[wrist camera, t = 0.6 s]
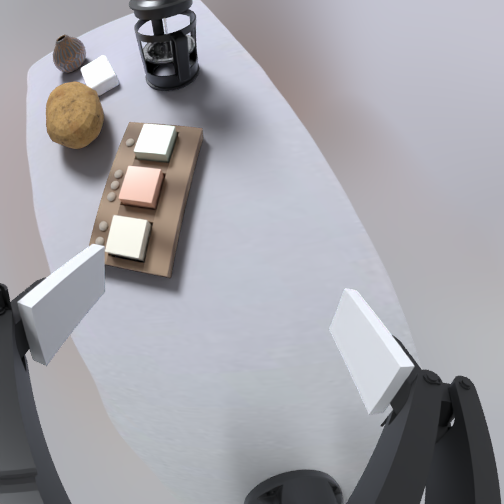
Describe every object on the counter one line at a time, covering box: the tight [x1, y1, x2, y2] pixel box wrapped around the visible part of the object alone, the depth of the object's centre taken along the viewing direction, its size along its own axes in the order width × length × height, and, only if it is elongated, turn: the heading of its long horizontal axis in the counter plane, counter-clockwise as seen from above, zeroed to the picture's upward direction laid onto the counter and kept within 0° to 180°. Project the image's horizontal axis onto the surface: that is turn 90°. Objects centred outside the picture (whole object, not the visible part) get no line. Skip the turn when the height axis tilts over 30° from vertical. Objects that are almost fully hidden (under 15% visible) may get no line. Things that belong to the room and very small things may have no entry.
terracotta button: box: [118, 166, 165, 210], centre depth 32 cm, size 4×4×3 cm
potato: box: [46, 81, 104, 149], centre depth 31 cm, size 10×14×8 cm
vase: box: [53, 35, 86, 72], centre depth 33 cm, size 7×7×9 cm
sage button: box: [134, 124, 177, 163], centre depth 33 cm, size 4×4×3 cm
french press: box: [129, 0, 199, 91], centre depth 27 cm, size 12×9×23 cm
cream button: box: [105, 215, 152, 262], centre depth 31 cm, size 4×4×3 cm
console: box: [89, 122, 203, 278], centre depth 33 cm, size 20×11×3 cm, turn 171°
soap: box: [81, 55, 119, 96], centre depth 36 cm, size 9×6×3 cm, turn 33°
